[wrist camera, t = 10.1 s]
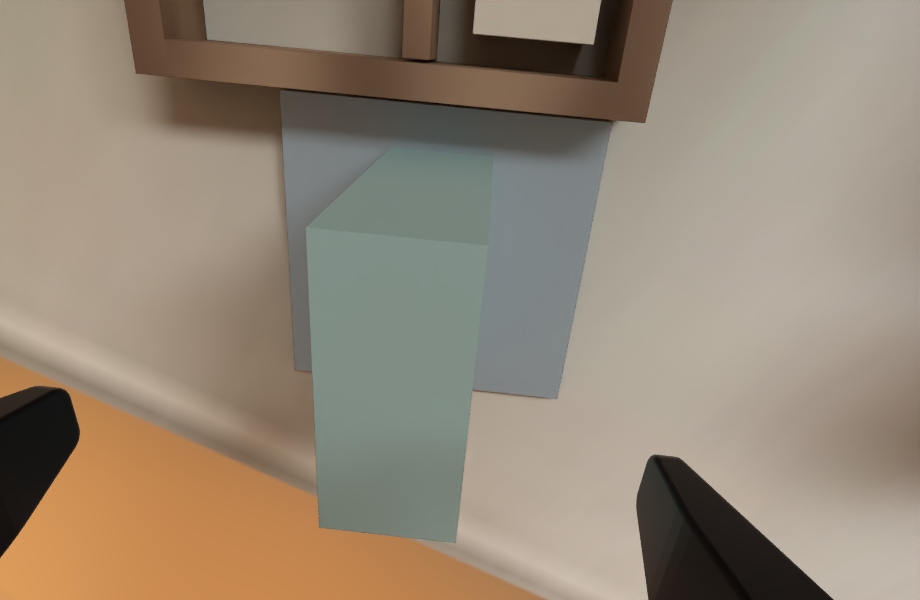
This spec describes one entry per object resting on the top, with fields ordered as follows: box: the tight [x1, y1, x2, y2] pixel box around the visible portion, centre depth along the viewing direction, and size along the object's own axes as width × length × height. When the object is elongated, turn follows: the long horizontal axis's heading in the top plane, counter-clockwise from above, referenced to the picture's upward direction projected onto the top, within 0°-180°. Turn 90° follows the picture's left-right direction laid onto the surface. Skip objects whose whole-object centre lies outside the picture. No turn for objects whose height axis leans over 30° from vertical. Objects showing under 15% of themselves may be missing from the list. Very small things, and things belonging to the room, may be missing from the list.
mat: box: [280, 89, 612, 399], centre depth 20 cm, size 11×11×1 cm
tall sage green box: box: [306, 147, 494, 543], centre depth 16 cm, size 4×8×9 cm, turn 175°
